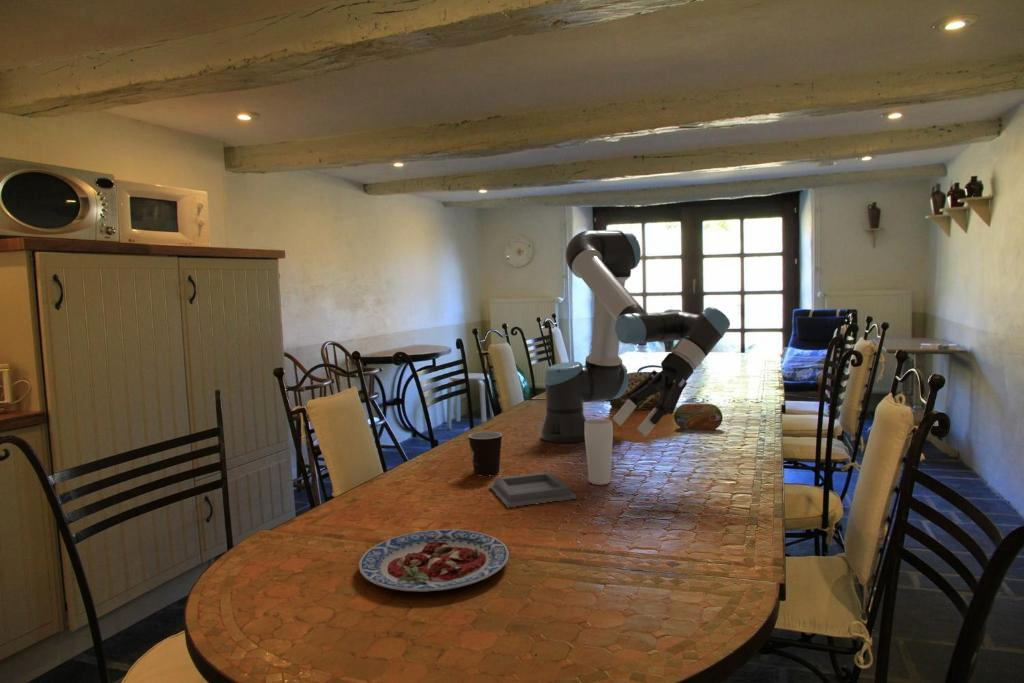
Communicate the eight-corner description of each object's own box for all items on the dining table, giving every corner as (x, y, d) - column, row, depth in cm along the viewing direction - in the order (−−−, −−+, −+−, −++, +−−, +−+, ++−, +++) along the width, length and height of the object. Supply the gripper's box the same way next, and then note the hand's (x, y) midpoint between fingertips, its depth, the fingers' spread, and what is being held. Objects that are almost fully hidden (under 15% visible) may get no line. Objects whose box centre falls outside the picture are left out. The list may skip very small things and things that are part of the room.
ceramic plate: (436, 530, 135) (436, 516, 135) (538, 560, 119) (538, 544, 118) (328, 575, 115) (327, 559, 115) (433, 619, 99) (432, 600, 99)
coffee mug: (499, 478, 169) (497, 439, 169) (466, 477, 171) (464, 438, 170) (508, 465, 181) (507, 429, 180) (477, 465, 182) (476, 428, 182)
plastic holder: (489, 487, 162) (489, 477, 161) (552, 480, 166) (552, 470, 166) (507, 508, 146) (507, 497, 146) (576, 499, 151) (575, 488, 150)
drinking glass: (613, 478, 166) (611, 418, 165) (614, 486, 159) (613, 424, 158) (585, 478, 167) (584, 418, 165) (585, 486, 160) (584, 424, 159)
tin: (674, 429, 218) (673, 403, 218) (674, 427, 221) (674, 402, 221) (722, 430, 214) (722, 404, 213) (722, 428, 217) (722, 403, 216)
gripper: (720, 377, 155) (664, 448, 152) (666, 366, 179) (616, 427, 176) (700, 355, 153) (642, 427, 150) (648, 347, 177) (597, 409, 174)
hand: (628, 427), depth 163 cm, fingers open, 13 cm apart
